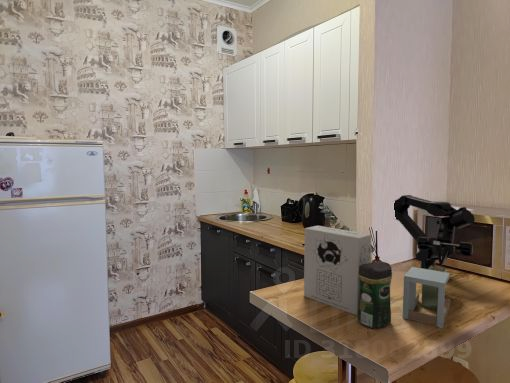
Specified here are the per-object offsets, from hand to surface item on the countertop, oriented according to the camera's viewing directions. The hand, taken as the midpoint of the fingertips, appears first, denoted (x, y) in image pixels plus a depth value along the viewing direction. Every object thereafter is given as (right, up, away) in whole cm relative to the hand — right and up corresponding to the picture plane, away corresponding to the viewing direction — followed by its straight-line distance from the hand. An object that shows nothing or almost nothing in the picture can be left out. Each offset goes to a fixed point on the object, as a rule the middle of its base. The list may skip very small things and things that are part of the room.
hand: (440, 265), depth 129 cm
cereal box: (-42, -11, -10) cm, 44 cm away
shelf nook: (-14, -11, -18) cm, 26 cm away
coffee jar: (-34, -12, -25) cm, 44 cm away
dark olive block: (-7, -11, -8) cm, 15 cm away
